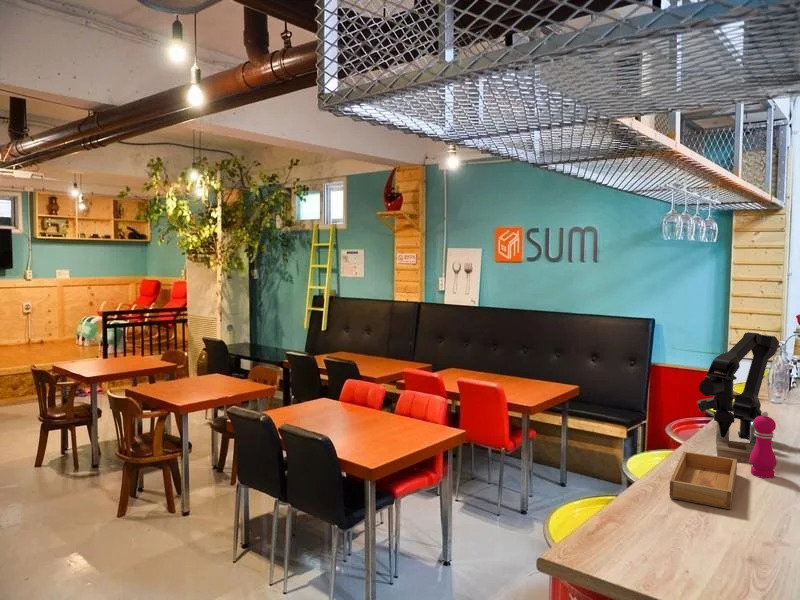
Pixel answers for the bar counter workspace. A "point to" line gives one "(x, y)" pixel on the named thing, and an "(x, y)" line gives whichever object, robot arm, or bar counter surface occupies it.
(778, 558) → the bar counter surface
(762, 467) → the pepper mill
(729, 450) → the bore block
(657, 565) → the bar counter surface
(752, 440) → the round bit
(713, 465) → the tray
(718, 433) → the square bit
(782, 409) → the bar counter surface
